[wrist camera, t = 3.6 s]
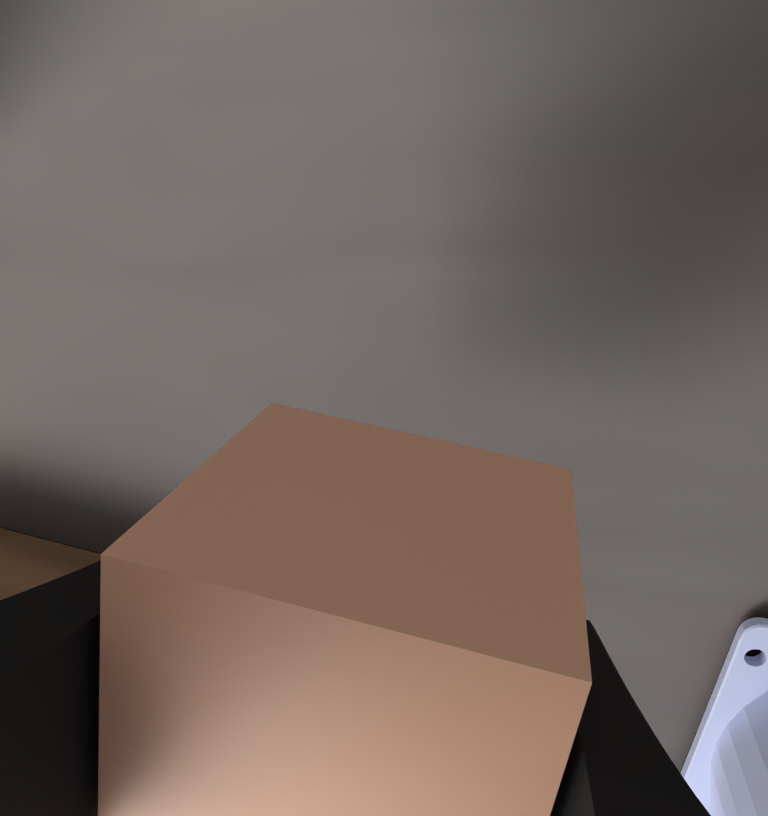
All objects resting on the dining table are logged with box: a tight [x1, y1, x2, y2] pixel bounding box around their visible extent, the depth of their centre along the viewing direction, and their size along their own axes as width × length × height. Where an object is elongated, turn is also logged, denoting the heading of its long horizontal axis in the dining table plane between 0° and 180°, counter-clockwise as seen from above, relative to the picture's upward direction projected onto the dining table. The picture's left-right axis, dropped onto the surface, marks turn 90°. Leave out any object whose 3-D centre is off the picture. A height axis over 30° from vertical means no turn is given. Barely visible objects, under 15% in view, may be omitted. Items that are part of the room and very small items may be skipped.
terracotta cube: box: [98, 403, 592, 816], centre depth 10 cm, size 5×5×5 cm
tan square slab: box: [0, 528, 101, 600], centre depth 23 cm, size 9×9×3 cm
